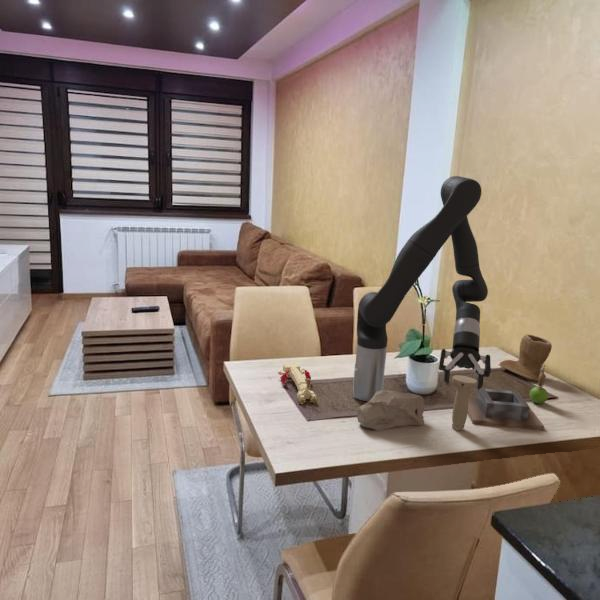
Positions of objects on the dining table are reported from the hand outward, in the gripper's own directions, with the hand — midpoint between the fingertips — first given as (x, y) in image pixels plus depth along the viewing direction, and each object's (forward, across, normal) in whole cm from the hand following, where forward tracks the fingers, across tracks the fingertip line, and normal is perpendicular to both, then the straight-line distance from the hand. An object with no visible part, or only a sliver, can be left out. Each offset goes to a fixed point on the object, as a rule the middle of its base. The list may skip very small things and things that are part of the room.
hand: (463, 386), depth 148 cm
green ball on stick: (-9, +25, +26) cm, 38 cm away
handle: (+11, 0, +6) cm, 12 cm away
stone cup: (-27, +25, +44) cm, 58 cm away
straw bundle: (+3, -50, +13) cm, 52 cm away
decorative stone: (+14, -18, +3) cm, 23 cm away
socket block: (+1, +13, +16) cm, 20 cm away
